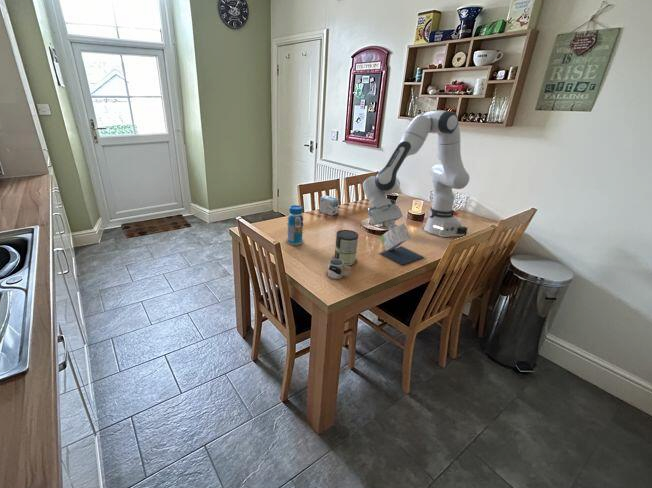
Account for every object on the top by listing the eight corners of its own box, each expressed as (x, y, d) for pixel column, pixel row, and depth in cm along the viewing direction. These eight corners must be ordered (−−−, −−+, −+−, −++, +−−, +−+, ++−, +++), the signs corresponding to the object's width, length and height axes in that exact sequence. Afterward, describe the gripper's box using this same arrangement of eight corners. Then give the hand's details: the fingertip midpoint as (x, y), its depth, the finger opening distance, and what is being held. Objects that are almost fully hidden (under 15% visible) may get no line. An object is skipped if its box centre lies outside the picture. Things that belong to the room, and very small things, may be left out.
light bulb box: (337, 213, 221) (339, 198, 216) (331, 216, 216) (333, 200, 212) (325, 209, 227) (326, 194, 223) (319, 212, 223) (320, 196, 219)
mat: (380, 253, 167) (380, 253, 167) (401, 247, 175) (401, 246, 175) (402, 265, 156) (402, 264, 156) (423, 257, 164) (423, 257, 164)
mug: (326, 277, 145) (327, 264, 142) (329, 270, 150) (331, 257, 148) (348, 281, 141) (350, 268, 139) (351, 274, 147) (353, 261, 144)
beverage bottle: (284, 243, 175) (285, 208, 167) (290, 237, 183) (291, 203, 174) (299, 246, 173) (301, 210, 165) (304, 240, 180) (306, 205, 172)
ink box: (379, 236, 173) (396, 223, 160) (386, 235, 175) (404, 222, 163) (386, 251, 170) (404, 239, 158) (393, 249, 172) (412, 237, 160)
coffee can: (329, 259, 160) (332, 233, 154) (342, 253, 166) (345, 227, 161) (347, 267, 153) (350, 240, 147) (359, 260, 160) (362, 234, 154)
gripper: (369, 205, 163) (381, 230, 159) (397, 200, 173) (409, 223, 170) (362, 211, 168) (373, 235, 165) (389, 205, 178) (401, 228, 175)
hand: (392, 229), depth 167 cm, fingers closed, pressing on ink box
